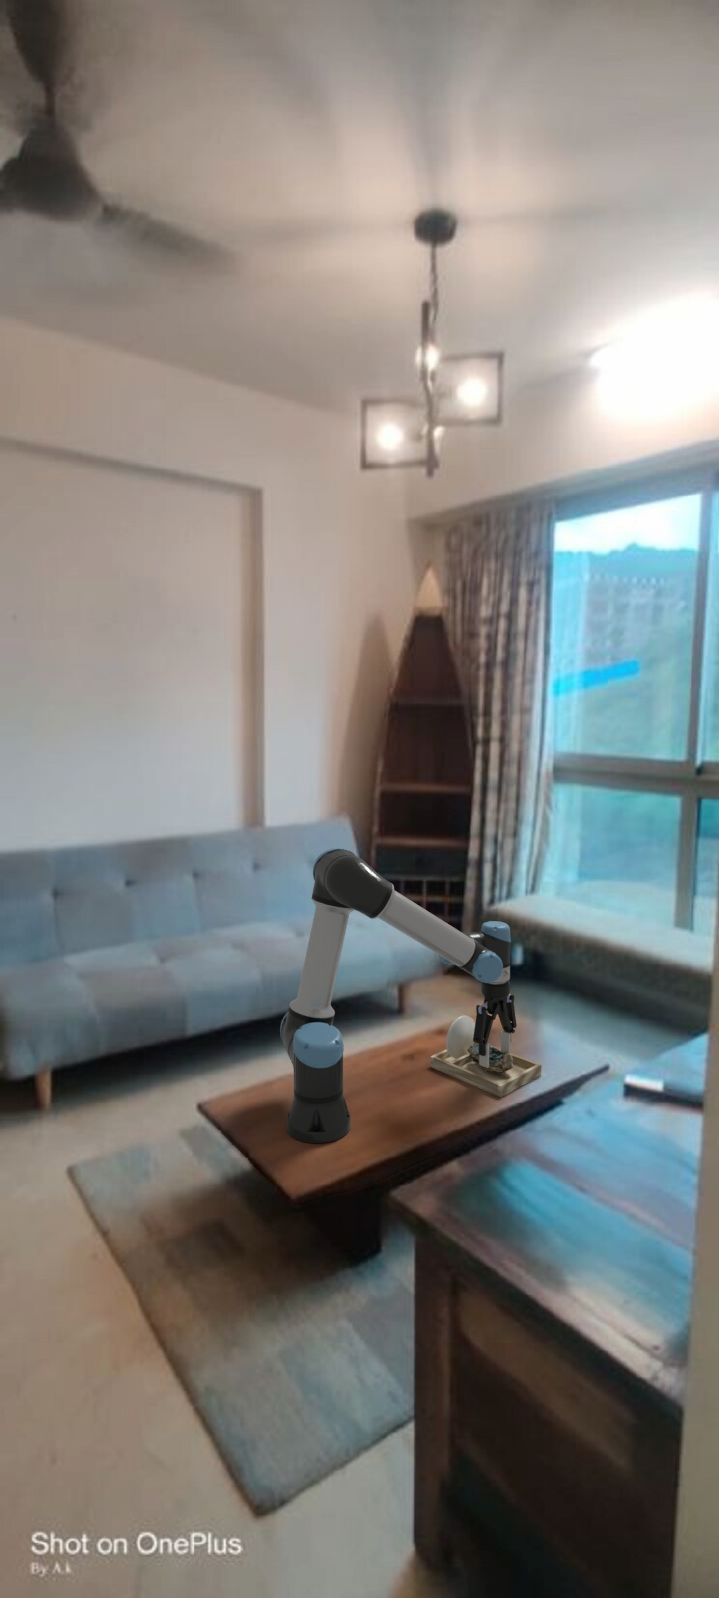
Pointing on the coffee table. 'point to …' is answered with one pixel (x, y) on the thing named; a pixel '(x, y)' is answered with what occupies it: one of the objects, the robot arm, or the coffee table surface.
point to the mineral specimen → (493, 1059)
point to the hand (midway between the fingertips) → (495, 1060)
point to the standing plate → (460, 1036)
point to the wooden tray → (485, 1080)
